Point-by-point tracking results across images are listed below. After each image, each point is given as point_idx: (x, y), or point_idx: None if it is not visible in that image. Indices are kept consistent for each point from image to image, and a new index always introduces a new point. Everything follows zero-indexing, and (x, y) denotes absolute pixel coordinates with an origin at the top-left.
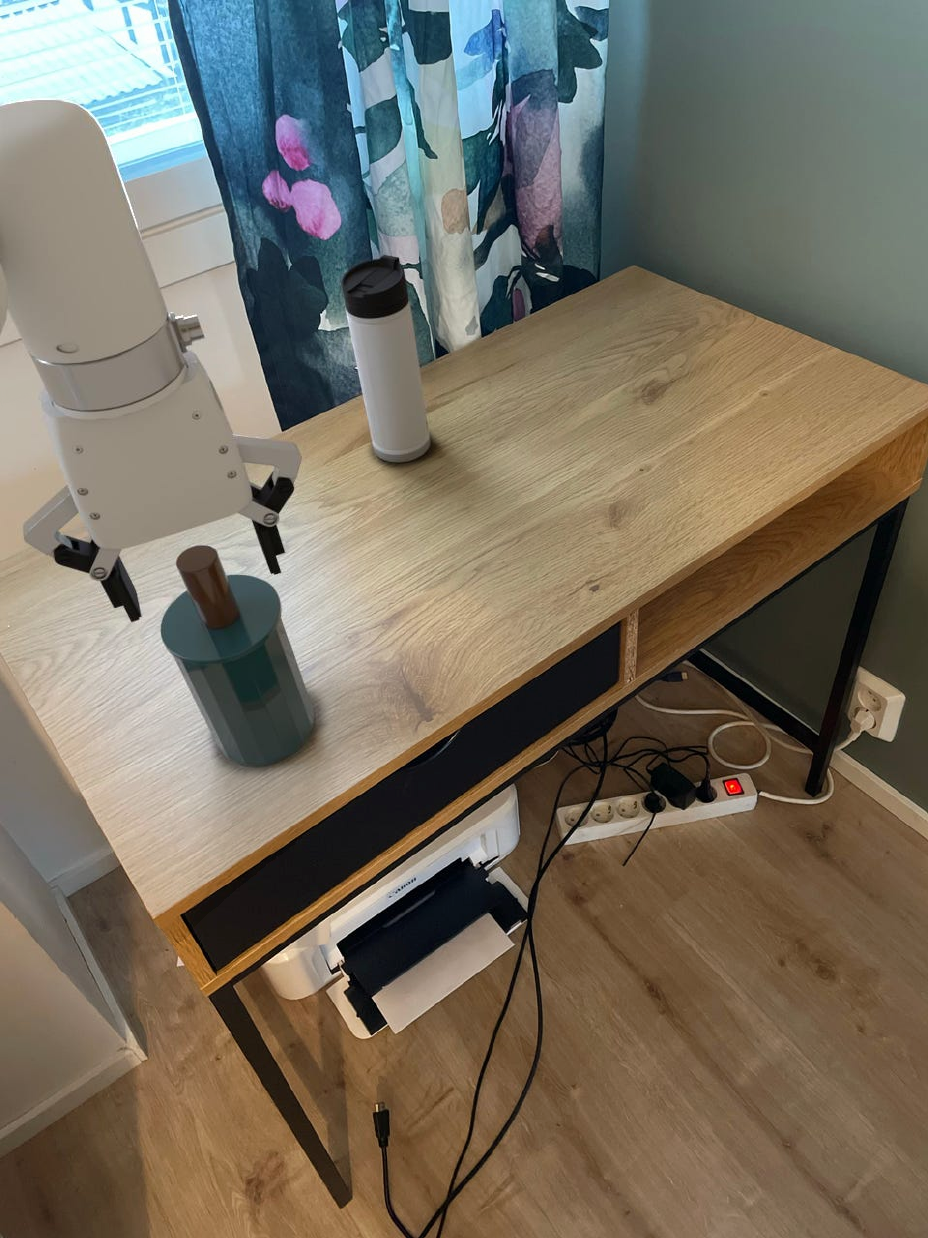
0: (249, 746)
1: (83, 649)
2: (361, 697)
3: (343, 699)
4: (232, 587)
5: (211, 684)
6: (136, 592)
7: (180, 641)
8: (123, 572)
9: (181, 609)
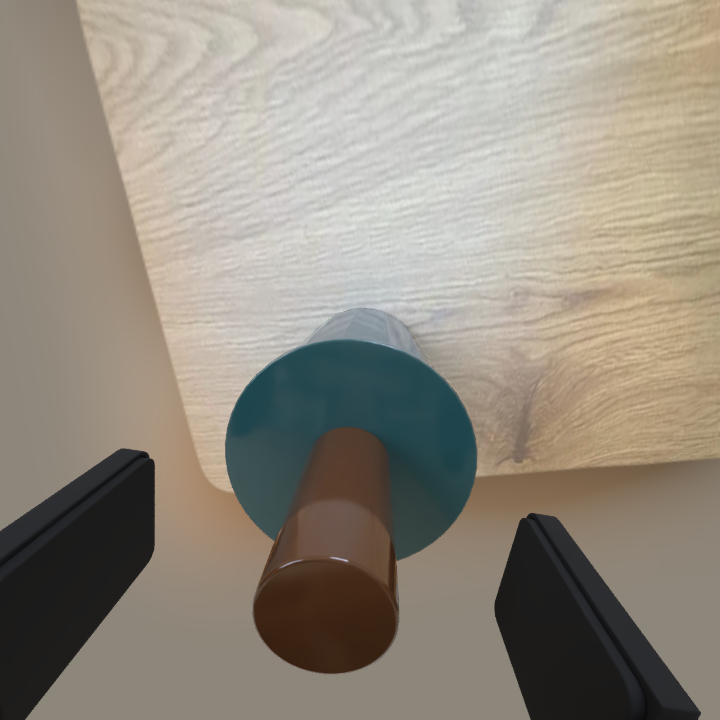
0: None
1: (180, 65)
2: (474, 391)
3: (456, 382)
4: (402, 401)
5: None
6: (151, 468)
7: (256, 480)
8: (48, 613)
9: (281, 399)
